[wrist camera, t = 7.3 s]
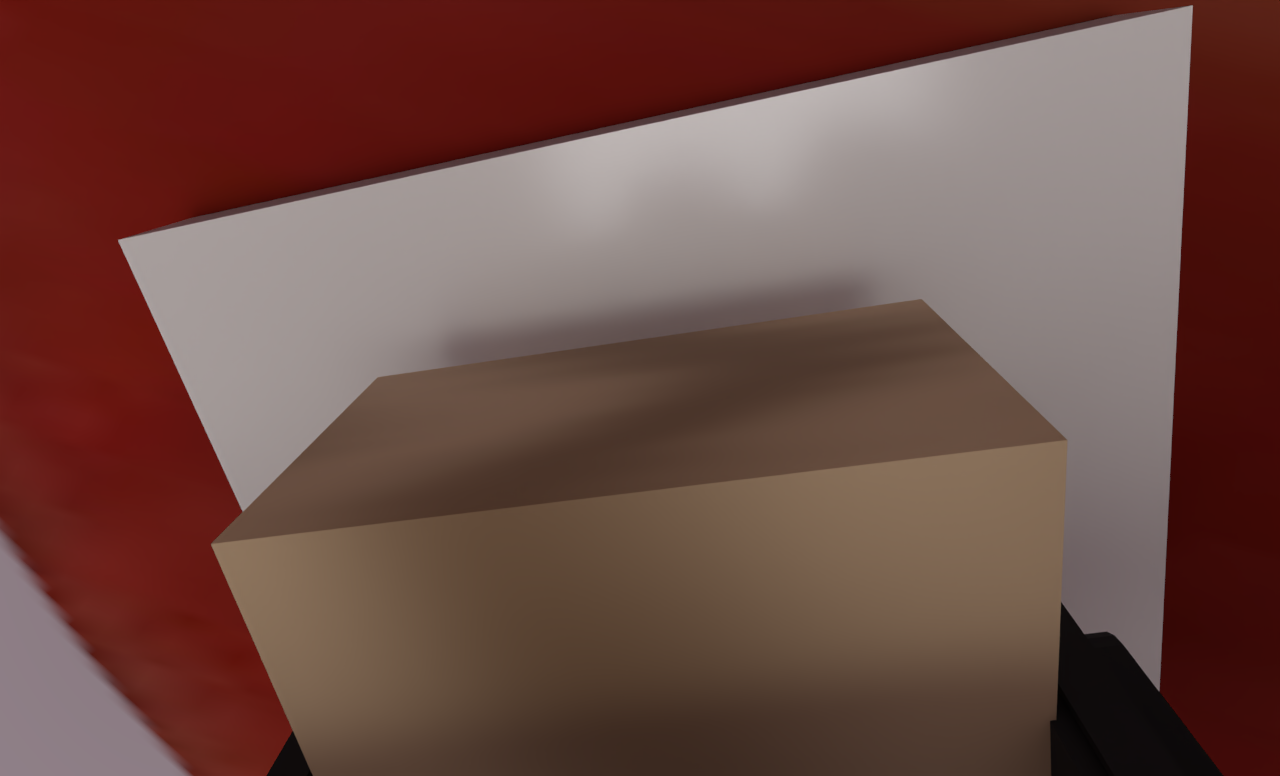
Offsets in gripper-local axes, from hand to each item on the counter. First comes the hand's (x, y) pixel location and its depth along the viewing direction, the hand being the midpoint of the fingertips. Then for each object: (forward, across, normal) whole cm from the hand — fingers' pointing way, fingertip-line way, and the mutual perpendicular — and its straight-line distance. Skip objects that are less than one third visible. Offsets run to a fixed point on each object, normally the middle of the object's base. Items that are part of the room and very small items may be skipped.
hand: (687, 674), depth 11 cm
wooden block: (+1, 0, 0) cm, 1 cm away
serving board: (+5, 0, 0) cm, 5 cm away
